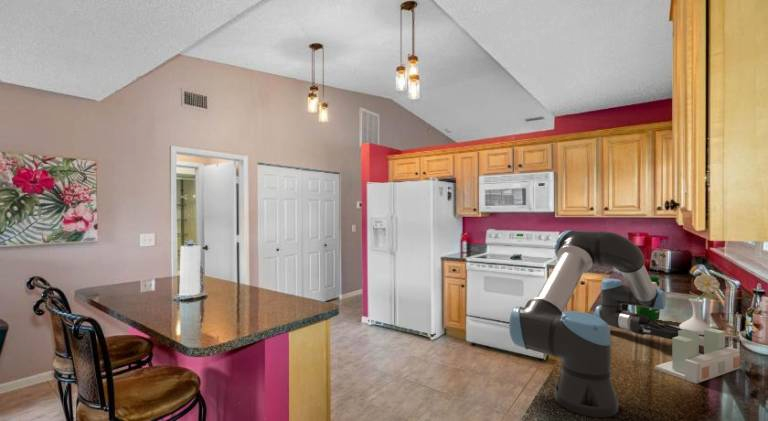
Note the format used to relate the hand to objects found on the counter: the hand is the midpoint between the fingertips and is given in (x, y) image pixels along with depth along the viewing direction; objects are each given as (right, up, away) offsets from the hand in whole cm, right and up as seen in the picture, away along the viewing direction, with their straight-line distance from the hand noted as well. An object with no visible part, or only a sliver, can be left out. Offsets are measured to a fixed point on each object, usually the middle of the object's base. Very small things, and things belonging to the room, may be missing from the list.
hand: (705, 342), depth 129 cm
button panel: (-7, -7, -6) cm, 11 cm away
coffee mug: (+2, -6, +52) cm, 53 cm away
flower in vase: (+21, -6, +28) cm, 36 cm away
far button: (+1, -5, -2) cm, 6 cm away
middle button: (-8, -5, -3) cm, 10 cm away
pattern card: (-5, -7, -11) cm, 14 cm away
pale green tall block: (-15, -5, -10) cm, 19 cm away
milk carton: (+15, -6, +49) cm, 52 cm away
